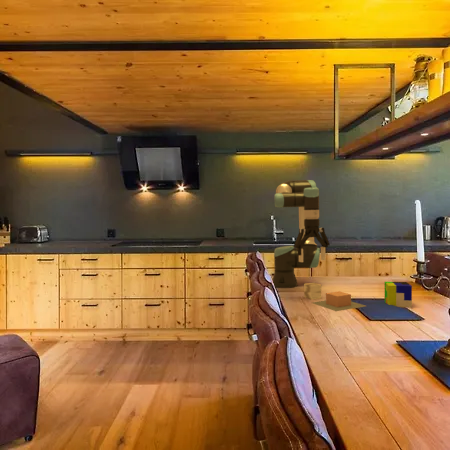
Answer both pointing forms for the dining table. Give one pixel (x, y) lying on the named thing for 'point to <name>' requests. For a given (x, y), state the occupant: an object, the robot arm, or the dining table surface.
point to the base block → (338, 299)
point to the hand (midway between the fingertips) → (312, 260)
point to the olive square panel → (353, 305)
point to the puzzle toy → (398, 294)
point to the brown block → (312, 291)
